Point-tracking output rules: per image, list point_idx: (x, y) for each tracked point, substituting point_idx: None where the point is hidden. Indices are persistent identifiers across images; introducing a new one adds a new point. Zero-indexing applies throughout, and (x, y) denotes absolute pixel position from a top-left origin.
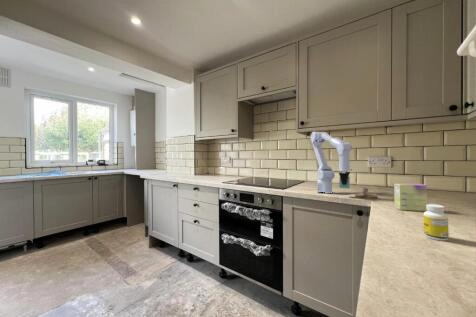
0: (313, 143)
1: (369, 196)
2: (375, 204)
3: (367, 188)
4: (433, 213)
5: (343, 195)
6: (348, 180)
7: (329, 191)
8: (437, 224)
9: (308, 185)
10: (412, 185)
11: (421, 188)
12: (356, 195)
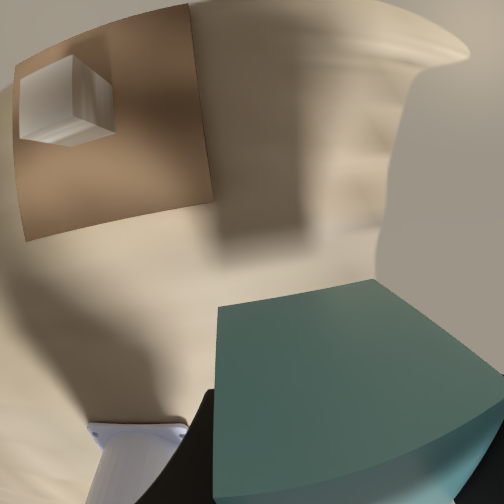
0: None
1: (175, 60)
2: (451, 46)
3: (73, 63)
4: None
5: (184, 331)
6: (455, 356)
7: (174, 451)
8: None
9: (18, 499)
10: None
11: None
12: (184, 193)
